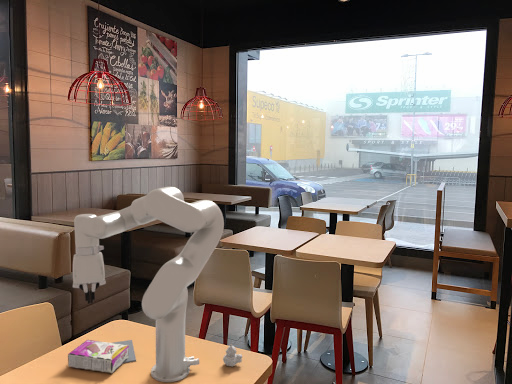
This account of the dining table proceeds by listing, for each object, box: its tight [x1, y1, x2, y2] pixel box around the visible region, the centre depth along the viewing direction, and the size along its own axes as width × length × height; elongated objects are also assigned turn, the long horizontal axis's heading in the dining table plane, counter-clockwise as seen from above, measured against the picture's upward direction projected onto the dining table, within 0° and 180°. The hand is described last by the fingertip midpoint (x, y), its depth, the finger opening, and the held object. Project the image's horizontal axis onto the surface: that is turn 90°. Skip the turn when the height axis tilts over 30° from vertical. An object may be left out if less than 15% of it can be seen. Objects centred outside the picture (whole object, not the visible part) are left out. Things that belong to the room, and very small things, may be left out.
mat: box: [112, 339, 137, 364], centre depth 153 cm, size 17×16×1 cm
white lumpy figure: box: [222, 342, 243, 367], centre depth 147 cm, size 5×7×8 cm
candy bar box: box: [67, 339, 129, 374], centre depth 146 cm, size 11×5×16 cm
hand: (90, 302), depth 148 cm, fingers closed
